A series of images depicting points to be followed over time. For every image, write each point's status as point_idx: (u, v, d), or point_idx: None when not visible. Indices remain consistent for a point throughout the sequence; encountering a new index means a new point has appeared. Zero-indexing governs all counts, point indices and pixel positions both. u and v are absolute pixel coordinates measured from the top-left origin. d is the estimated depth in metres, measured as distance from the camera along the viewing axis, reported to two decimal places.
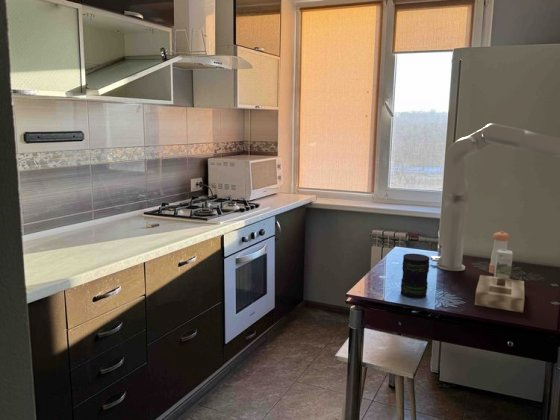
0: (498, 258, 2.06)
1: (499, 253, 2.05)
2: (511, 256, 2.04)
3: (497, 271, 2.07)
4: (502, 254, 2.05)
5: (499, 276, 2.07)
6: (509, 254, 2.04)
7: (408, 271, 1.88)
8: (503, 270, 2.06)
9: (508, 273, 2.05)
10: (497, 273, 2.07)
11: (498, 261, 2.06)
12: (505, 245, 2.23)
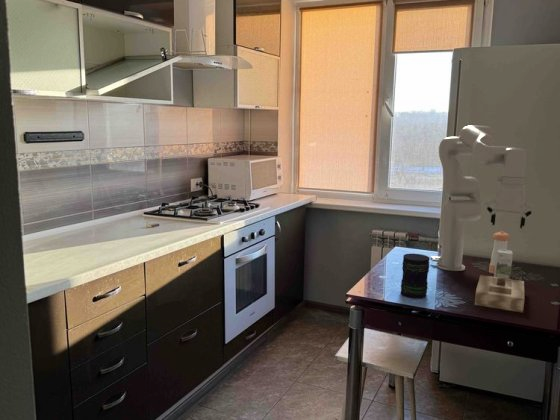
0: (498, 258, 2.06)
1: (499, 253, 2.05)
2: (511, 256, 2.04)
3: (497, 271, 2.07)
4: (502, 254, 2.05)
5: (499, 276, 2.07)
6: (509, 254, 2.04)
7: (408, 271, 1.88)
8: (503, 270, 2.06)
9: (508, 273, 2.05)
10: (497, 273, 2.07)
11: (498, 261, 2.06)
12: (505, 245, 2.23)
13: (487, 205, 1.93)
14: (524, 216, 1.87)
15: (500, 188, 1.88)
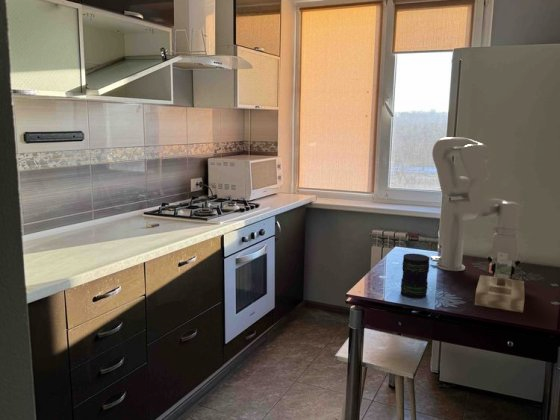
0: (498, 258, 2.06)
1: (499, 253, 2.05)
2: None
3: (497, 271, 2.07)
4: (502, 254, 2.05)
5: (499, 276, 2.07)
6: None
7: (408, 271, 1.88)
8: (503, 270, 2.06)
9: (508, 273, 2.05)
10: (497, 273, 2.07)
11: (498, 260, 2.06)
12: None
13: (487, 256, 2.10)
14: (514, 265, 2.05)
15: (496, 238, 2.06)
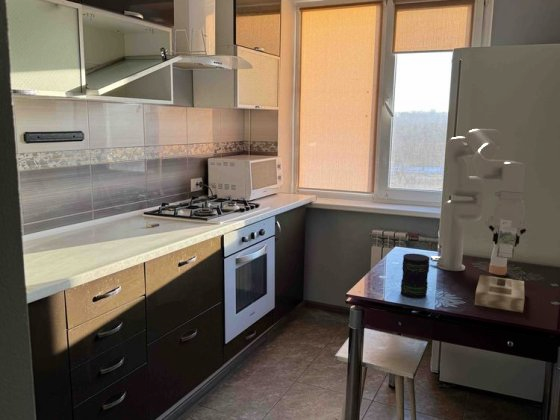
0: (501, 226, 1.82)
1: (502, 220, 1.82)
2: None
3: (500, 241, 1.83)
4: (505, 221, 1.81)
5: (502, 246, 1.83)
6: None
7: (408, 271, 1.88)
8: (506, 240, 1.82)
9: (512, 243, 1.82)
10: (500, 243, 1.83)
11: (501, 229, 1.82)
12: None
13: (488, 224, 1.86)
14: (518, 234, 1.82)
15: (498, 203, 1.82)
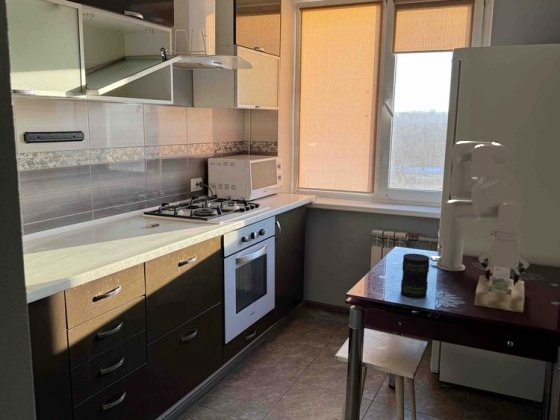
0: (494, 272, 1.83)
1: (495, 266, 1.83)
2: (509, 270, 1.81)
3: (493, 287, 1.84)
4: (498, 268, 1.83)
5: None
6: (506, 268, 1.82)
7: (408, 271, 1.88)
8: (499, 286, 1.83)
9: (505, 289, 1.83)
10: (493, 289, 1.84)
11: (494, 275, 1.84)
12: None
13: (481, 260, 1.87)
14: (517, 273, 1.81)
15: (494, 243, 1.82)
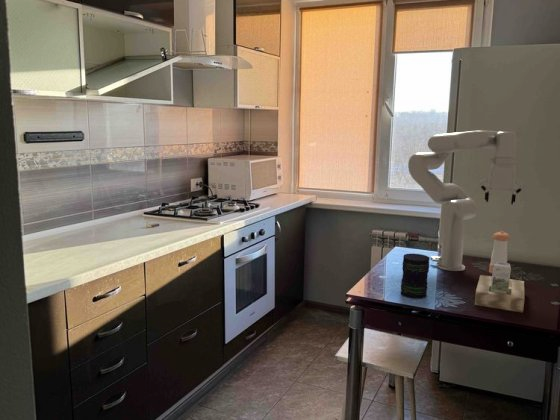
0: (494, 272, 1.83)
1: (495, 267, 1.83)
2: (509, 270, 1.81)
3: (493, 287, 1.84)
4: (499, 268, 1.82)
5: None
6: (507, 268, 1.82)
7: (408, 271, 1.88)
8: (499, 286, 1.83)
9: (506, 289, 1.83)
10: (493, 289, 1.84)
11: (494, 275, 1.83)
12: (505, 245, 2.23)
13: (481, 184, 2.13)
14: (515, 193, 2.07)
15: (493, 168, 2.08)
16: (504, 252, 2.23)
